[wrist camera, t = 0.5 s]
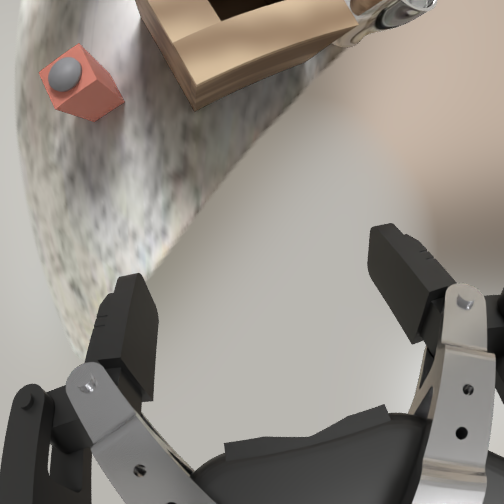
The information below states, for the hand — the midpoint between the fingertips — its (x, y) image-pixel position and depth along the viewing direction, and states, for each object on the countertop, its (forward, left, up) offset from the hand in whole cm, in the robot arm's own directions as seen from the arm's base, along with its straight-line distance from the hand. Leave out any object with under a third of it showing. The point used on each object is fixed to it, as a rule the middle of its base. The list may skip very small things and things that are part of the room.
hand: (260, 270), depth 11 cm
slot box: (-16, +9, -25) cm, 31 cm away
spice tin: (-16, -6, -25) cm, 30 cm away
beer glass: (-12, +23, -25) cm, 36 cm away
